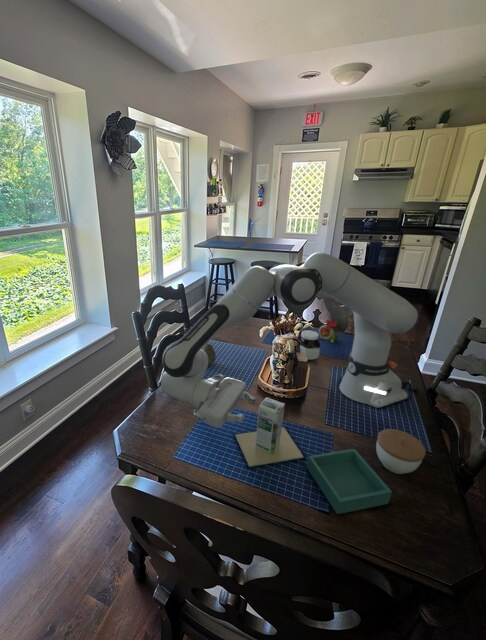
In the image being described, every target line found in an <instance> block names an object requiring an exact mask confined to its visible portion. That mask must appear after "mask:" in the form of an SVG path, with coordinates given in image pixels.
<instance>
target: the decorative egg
mask: <svg viewBox="0 0 486 640" xmlns="http://www.w3.org/2000/svg"><path fill="white" fill-rule="evenodd" d="M202 349H203V350H204V351H205V352H206V353H207V355H208V359H209V364H208V367H209V366H210V367H211V366H212V365H214V364H215V362H216V351H215V348H214V346H213V345H212V344H211V343H206V344H205V345H204V346H203V347H202Z"/></svg>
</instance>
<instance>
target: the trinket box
mask: <svg viewBox="0 0 486 640" xmlns="http://www.w3.org/2000/svg"><path fill="white" fill-rule="evenodd" d="M375 444H376V445H375V450H376V455H377V458H378V459H379V461H380V463H381V464H382V465H383V467H384V468H386V469H387V470H388V471H390V472H392V473H395V474H398V475H403V474H410V473H412V472H414V471H416V470H417V469H418V468H419V467H420V466H421V464H422V463H423V460H424V458H425V456H426V454H427V451H426V448H425V446H424V444H423V443H422V442H421V441H420V440H419V439H418V438H417V437H416V436H413V435H412V434H411V433H408V432H405V431H403V430H400V429H396V428H385V429H381V430H380V431H379V432H378V434H377V438H376V443H375Z"/></svg>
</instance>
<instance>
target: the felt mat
mask: <svg viewBox="0 0 486 640" xmlns="http://www.w3.org/2000/svg"><path fill="white" fill-rule="evenodd" d="M256 432H257V430H256V431H250V432H249V431H248V432H242V433H236V434H235V438H236V441H237V443H238V445H239V447H240V450H241V452H242V454H243V456H244V459H245V461H246V463H247V465H248V467H249V468H252V467H256V466H264V465H269V464H275V463H276V464H277V463H282V462H288V461H292V460H293V461H294V460H298V459H303V458H304V455H303V454H302V452H301V450H300V448H299V447H298V446H297V444H296V443H295V442H294V440H293V438H292V437H291V435H290V434H289V433H288V431H287V430H286V427H284V426H282V430H281V438H280V443H279V445H278V447H277V449H276V451H275V452H274V454H273V455H272V454H270V453H268V452H266V451H263V450H261V449H259V448H256V447H255V441H256Z"/></svg>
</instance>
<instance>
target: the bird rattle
mask: <svg viewBox="0 0 486 640" xmlns="http://www.w3.org/2000/svg"><path fill="white" fill-rule="evenodd" d="M337 325H338V321H333V320H329V319H326V324H322V325H321V326H319V328H318V334H319V336H320V340H329V341H330V344H333V343H335V340H337V339H338V338H339V337H340V334H338V333H337V334H336V333H335V328H337Z"/></svg>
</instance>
